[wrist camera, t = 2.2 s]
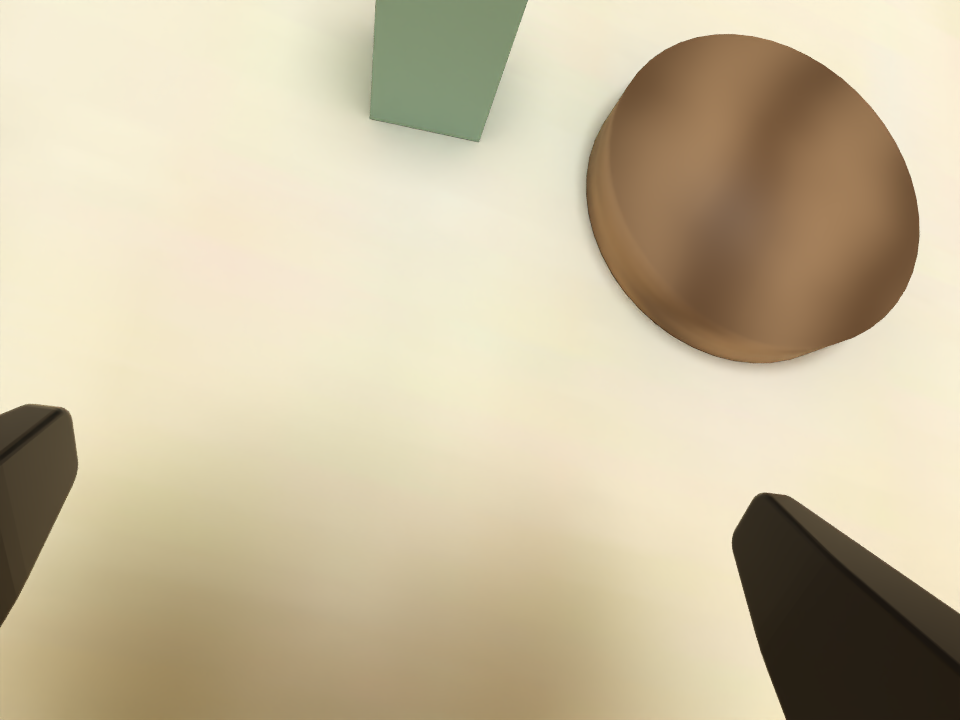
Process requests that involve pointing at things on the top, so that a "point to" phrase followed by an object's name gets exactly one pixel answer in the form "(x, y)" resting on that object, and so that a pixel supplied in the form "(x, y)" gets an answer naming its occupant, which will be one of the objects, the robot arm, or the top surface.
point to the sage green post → (440, 62)
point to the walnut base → (752, 200)
